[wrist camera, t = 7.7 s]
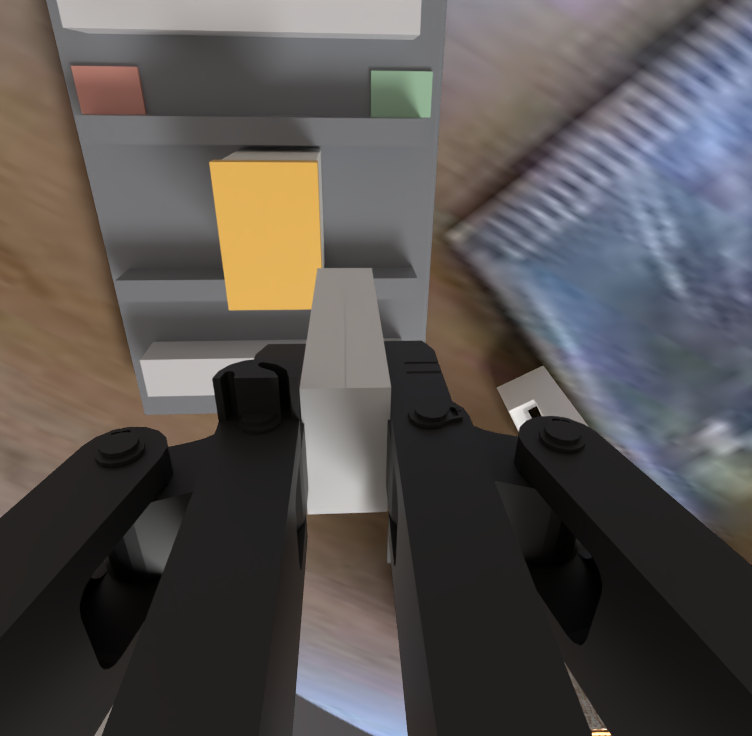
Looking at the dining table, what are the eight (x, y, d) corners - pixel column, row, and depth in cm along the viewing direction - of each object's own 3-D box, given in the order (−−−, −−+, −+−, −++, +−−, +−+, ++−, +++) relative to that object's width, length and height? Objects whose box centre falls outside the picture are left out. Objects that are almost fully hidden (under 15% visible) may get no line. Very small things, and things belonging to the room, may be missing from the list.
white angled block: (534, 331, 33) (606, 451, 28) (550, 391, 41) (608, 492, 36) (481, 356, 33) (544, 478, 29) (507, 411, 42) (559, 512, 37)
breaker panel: (441, -82, 25) (465, -124, 20) (415, 385, 37) (426, 429, 32) (53, -96, 24) (-19, -143, 19) (159, 391, 36) (132, 436, 31)
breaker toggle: (322, 146, 26) (317, 162, 20) (326, 265, 29) (322, 309, 23) (239, 145, 26) (208, 161, 20) (251, 265, 29) (228, 310, 23)
